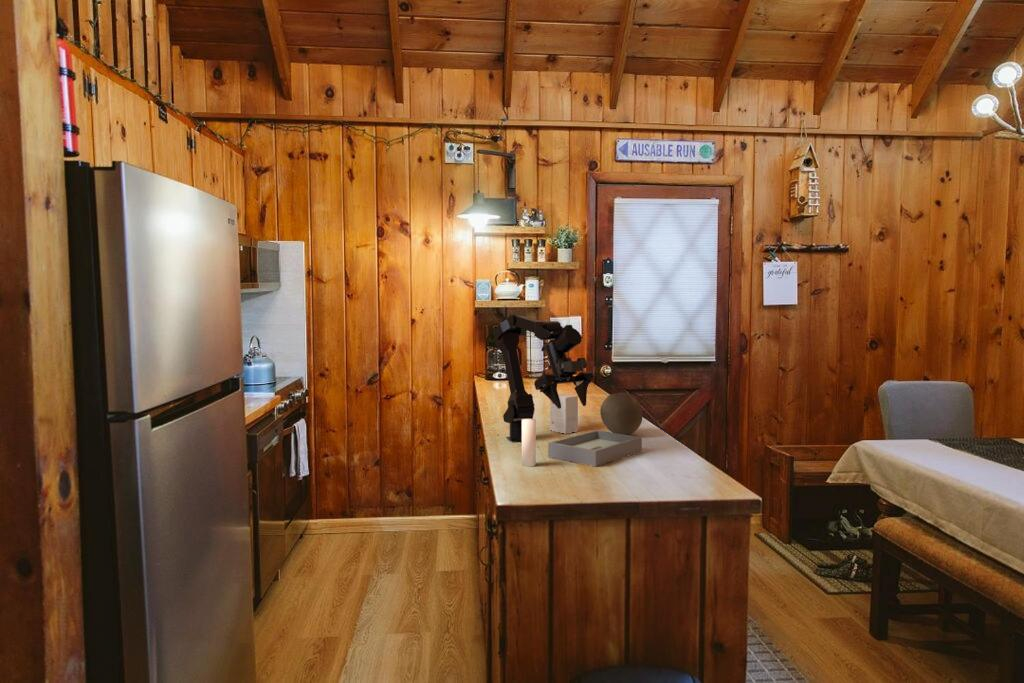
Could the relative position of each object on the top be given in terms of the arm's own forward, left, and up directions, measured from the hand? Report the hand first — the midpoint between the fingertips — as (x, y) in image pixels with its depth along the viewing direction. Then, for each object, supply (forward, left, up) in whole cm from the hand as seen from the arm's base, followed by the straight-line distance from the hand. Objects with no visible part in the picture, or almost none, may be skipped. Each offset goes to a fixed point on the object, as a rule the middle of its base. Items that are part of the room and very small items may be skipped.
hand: (572, 407), depth 194 cm
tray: (-2, +8, -15) cm, 18 cm away
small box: (-37, +13, -15) cm, 42 cm away
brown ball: (-24, +29, -15) cm, 40 cm away
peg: (+4, -15, -15) cm, 22 cm away
